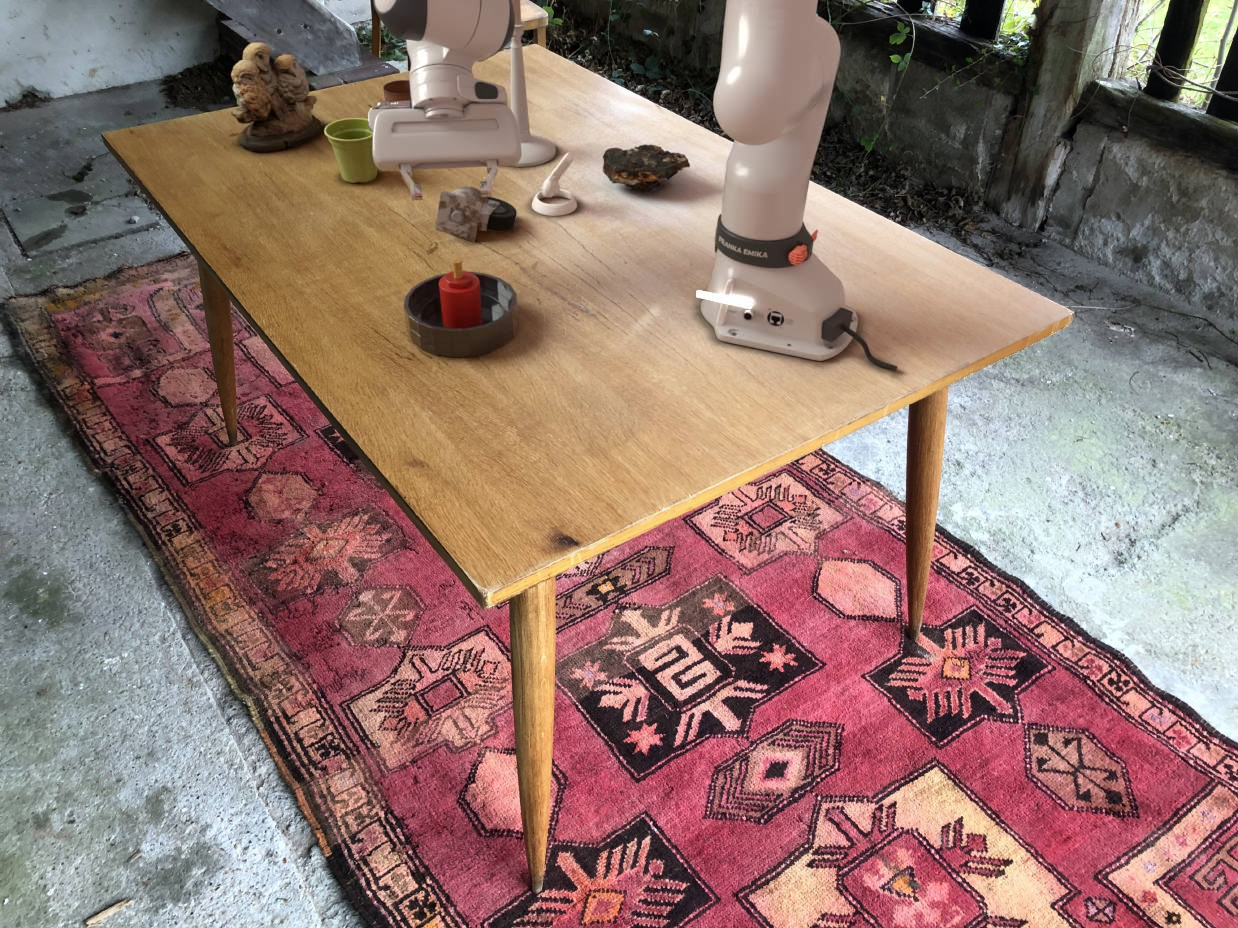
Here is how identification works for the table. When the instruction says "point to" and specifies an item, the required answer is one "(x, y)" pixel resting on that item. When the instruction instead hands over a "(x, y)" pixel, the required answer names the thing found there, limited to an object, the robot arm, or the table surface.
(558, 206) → the hook
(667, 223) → the table surface
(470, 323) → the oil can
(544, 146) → the candlestick
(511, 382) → the table surface
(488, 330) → the bowl
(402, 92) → the cup and saucer
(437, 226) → the caster wheel
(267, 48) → the owl figurine
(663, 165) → the fossil rock
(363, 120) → the plant pot
